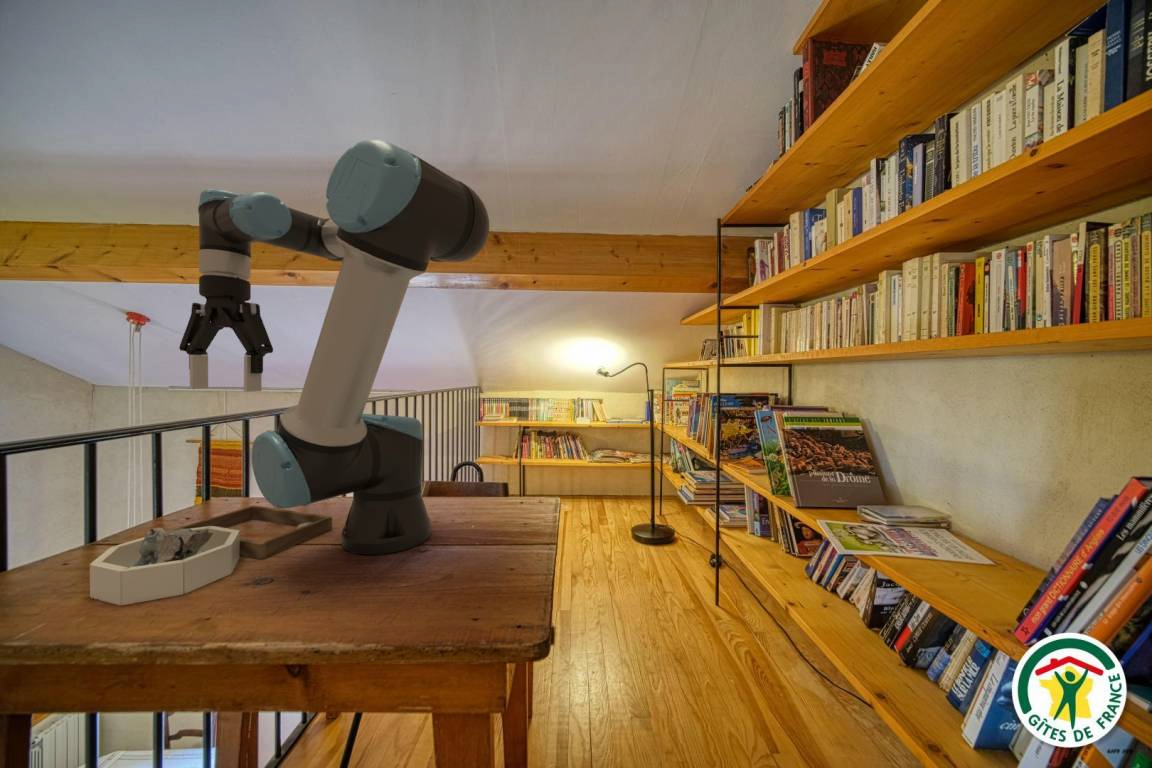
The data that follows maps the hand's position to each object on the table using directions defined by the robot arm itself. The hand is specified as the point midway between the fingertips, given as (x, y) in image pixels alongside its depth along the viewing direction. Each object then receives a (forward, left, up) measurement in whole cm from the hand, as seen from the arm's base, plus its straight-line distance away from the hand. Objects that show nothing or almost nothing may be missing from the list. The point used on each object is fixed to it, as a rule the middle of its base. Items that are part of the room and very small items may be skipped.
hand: (225, 390), depth 80 cm
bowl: (-12, +16, -27) cm, 33 cm away
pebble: (-16, -4, -27) cm, 31 cm away
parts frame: (-9, +1, -27) cm, 28 cm away
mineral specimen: (-13, +16, -26) cm, 33 cm away
